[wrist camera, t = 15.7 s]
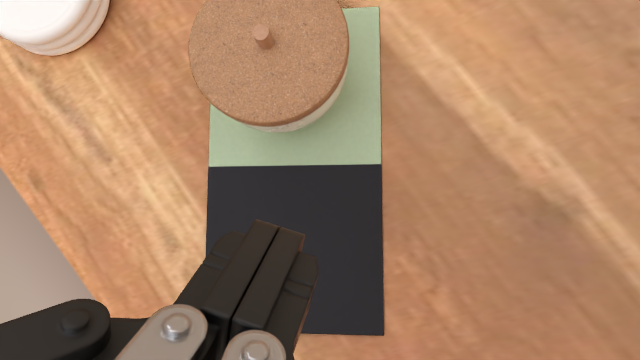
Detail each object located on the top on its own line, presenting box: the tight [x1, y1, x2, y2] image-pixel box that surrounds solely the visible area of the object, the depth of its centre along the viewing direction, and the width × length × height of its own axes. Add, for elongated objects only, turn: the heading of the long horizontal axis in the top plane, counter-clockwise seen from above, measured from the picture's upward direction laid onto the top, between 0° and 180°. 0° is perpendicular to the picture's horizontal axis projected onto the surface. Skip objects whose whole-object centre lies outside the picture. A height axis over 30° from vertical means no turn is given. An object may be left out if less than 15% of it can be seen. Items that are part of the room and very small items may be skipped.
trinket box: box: [189, 0, 349, 133], centre depth 33 cm, size 11×11×9 cm
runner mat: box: [206, 7, 384, 336], centre depth 37 cm, size 26×14×1 cm, turn 0°
